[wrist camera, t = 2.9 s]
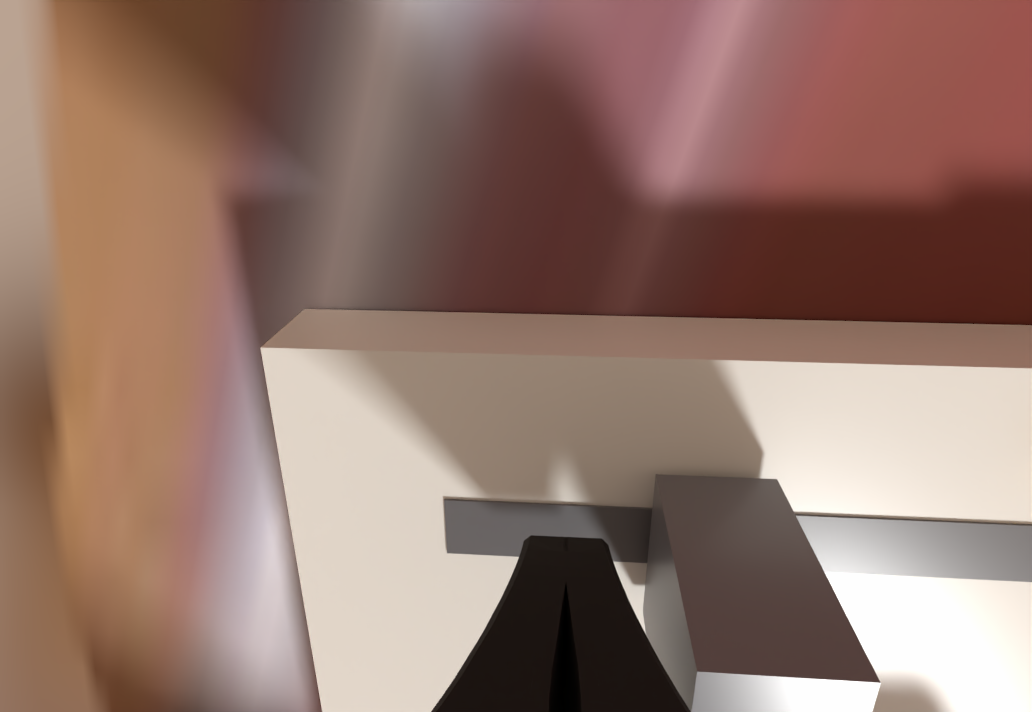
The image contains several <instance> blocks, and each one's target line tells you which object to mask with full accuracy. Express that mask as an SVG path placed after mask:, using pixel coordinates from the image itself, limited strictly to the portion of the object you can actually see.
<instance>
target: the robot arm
mask: <svg viewBox="0 0 1032 712" xmlns="http://www.w3.org/2000/svg"><path fill="white" fill-rule="evenodd" d="M431 712H691V711H690V710H689V708H688V707H687V705H686V703H685V702H684V700H683V699H682V697H681V696H680V694H679V692H678V691H677V689H676V687H675V686H674V684H673V682H672V680H671V679H670V677H669V675H668V674H667V672H666V670H665V669H664V667H663V665H662V664H661V662H660V660H659V658H658V656H657V655H656V653H655V651H654V649H653V647H652V645H651V643H650V642H649V640H648V638H647V636H646V634H645V632H644V630H643V628H642V626H641V624H640V622H639V620H638V618H637V616H636V614H635V612H634V610H633V608H632V606H631V604H630V602H629V599H628V597H627V595H626V592H625V590H624V588H623V586H622V583H621V581H620V578H619V576H618V573H617V571H616V568H615V565H614V562H613V559H612V556H611V553H610V549H609V545H608V544H607V543H606V542H605V541H604V540H603V539H602V538H581V537H558V536H535V535H531V536H529V537H528V538H527V539H525V540H524V542H523V546H522V550H521V553H520V556H519V558H518V561H517V564H516V566H515V569H514V571H513V574H512V576H511V578H510V580H509V582H508V585H507V587H506V589H505V591H504V593H503V595H502V597H501V599H500V601H499V603H498V605H497V607H496V609H495V610H494V612H493V614H492V616H491V618H490V620H489V622H488V624H487V626H486V627H485V629H484V631H483V633H482V634H481V636H480V638H479V640H478V641H477V643H476V644H475V646H474V648H473V649H472V651H471V652H470V654H469V656H468V657H467V659H466V661H465V662H464V664H463V665H462V667H461V669H460V670H459V672H458V673H457V675H456V677H455V678H454V680H453V681H452V683H451V684H450V685H449V687H448V688H447V690H446V691H445V693H444V694H443V696H442V697H441V698H440V700H439V701H438V703H437V704H436V706H435V707H434V708H433V710H432V711H431Z"/></svg>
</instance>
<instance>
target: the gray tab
mask: <svg viewBox="0 0 1032 712" xmlns="http://www.w3.org/2000/svg"><path fill="white" fill-rule="evenodd" d="M643 616H644V624H645V631H646V636H647V638H648V640H649V642H650V643H651V645H652V647H653V649H654V651H655V653H656V655H657V656H658V658H659V660H660V662H661V664H662V665H663V667H664V669H665V670H666V672H667V674H668V675H669V677H670V679H671V680H672V682H673V684H674V686H675V687H676V689H677V691H678V692H679V694H680V696H681V697H682V699H683V700H684V702H685V703H686V705H687V707H688V708H689V710H690V711H691V712H872V711H873V708H874V704H875V701H876V697H877V694H878V691H879V687H880V684H881V682H880V680H879V678H878V676H877V674H876V672H875V670H874V668H873V666H872V664H871V663H870V661H869V659H868V657H867V655H866V653H865V651H864V649H863V647H862V645H861V643H860V641H859V639H858V637H857V635H856V633H855V631H854V629H853V627H852V625H851V623H850V621H849V619H848V617H847V615H846V613H845V611H844V609H843V608H842V606H841V604H840V602H839V600H838V598H837V596H836V594H835V592H834V590H833V588H832V586H831V584H830V582H829V580H828V578H827V576H826V574H825V572H824V570H823V568H822V566H821V564H820V562H819V560H818V558H817V556H816V554H815V553H814V551H813V549H812V547H811V545H810V543H809V541H808V539H807V537H806V535H805V533H804V531H803V529H802V527H801V525H800V523H799V521H798V519H797V517H796V515H795V513H794V511H793V509H792V507H791V505H790V503H789V501H788V499H787V498H786V496H785V494H784V492H783V490H782V488H781V486H780V484H779V482H778V480H777V479H763V478H738V477H713V476H688V475H662V474H656V475H655V486H654V497H653V507H652V518H651V528H650V539H649V549H648V560H647V571H646V581H645V592H644V602H643Z"/></svg>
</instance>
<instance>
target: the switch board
mask: <svg viewBox="0 0 1032 712" xmlns="http://www.w3.org/2000/svg"><path fill="white" fill-rule="evenodd" d="M261 354H262V360H263V366H264V372H265V377H266V383H267V389H268V395H269V401H270V407H271V413H272V419H273V425H274V431H275V436H276V442H277V448H278V454H279V460H280V466H281V472H282V478H283V484H284V489H285V495H286V501H287V507H288V513H289V519H290V525H291V531H292V537H293V543H294V548H295V554H296V560H297V566H298V572H299V578H300V584H301V590H302V596H303V601H304V607H305V613H306V619H307V625H308V631H309V637H310V643H311V649H312V655H313V660H314V666H315V672H316V678H317V684H318V690H319V696H320V702H321V708H322V712H431V711H432V710H433V708H434V707H435V706H436V704H437V703H438V701H439V700H440V698H441V697H442V696H443V694H444V693H445V691H446V690H447V688H448V687H449V685H450V684H451V683H452V681H453V680H454V678H455V677H456V675H457V673H458V672H459V670H460V669H461V667H462V665H463V664H464V662H465V661H466V659H467V657H468V656H469V654H470V652H471V651H472V649H473V648H474V646H475V644H476V643H477V641H478V640H479V638H480V636H481V634H482V633H483V631H484V629H485V627H486V626H487V624H488V622H489V620H490V618H491V616H492V614H493V612H494V610H495V609H496V607H497V605H498V603H499V601H500V599H501V597H502V595H503V593H504V591H505V589H506V587H507V585H508V582H509V580H510V578H511V576H512V574H513V571H514V569H515V566H516V564H517V561H518V558H519V556H520V553H521V550H522V546H523V542H524V540H525V539H527V538H528V537H529V536H531V535H535V536H558V537H581V538H602V539H603V540H604V541H605V542H606V543H607V544H608V545H609V549H610V553H611V556H612V559H613V562H614V565H615V568H616V571H617V573H618V576H619V578H620V581H621V583H622V586H623V588H624V590H625V592H626V595H627V597H628V599H629V602H630V604H631V606H632V608H633V610H634V612H635V614H636V616H637V618H638V620H639V622H640V624H641V626H642V628H643V630H644V632H645V634H646V631H645V624H644V616H643V602H644V592H645V581H646V571H647V560H648V549H649V539H650V528H651V518H652V507H653V497H654V486H655V475H656V474H662V475H688V476H713V477H738V478H763V479H777V480H778V482H779V484H780V486H781V488H782V490H783V492H784V494H785V496H786V498H787V499H788V501H789V503H790V505H791V507H792V509H793V511H794V513H795V515H796V517H797V519H798V521H799V523H800V525H801V527H802V529H803V531H804V533H805V535H806V537H807V539H808V541H809V543H810V545H811V547H812V549H813V551H814V553H815V554H816V556H817V558H818V560H819V562H820V564H821V566H822V568H823V570H824V572H825V574H826V576H827V578H828V580H829V582H830V584H831V586H832V588H833V590H834V592H835V594H836V596H837V598H838V600H839V602H840V604H841V606H842V608H843V609H844V611H845V613H846V615H847V617H848V619H849V621H850V623H851V625H852V627H853V629H854V631H855V633H856V635H857V637H858V639H859V641H860V643H861V645H862V647H863V649H864V651H865V653H866V655H867V657H868V659H869V661H870V663H871V664H872V666H873V668H874V670H875V672H876V674H877V676H878V678H879V680H880V682H881V684H880V687H879V691H878V694H877V697H876V701H875V704H874V708H873V711H872V712H1032V325H1001V324H957V323H913V322H868V321H824V320H779V319H735V318H691V317H646V316H602V315H558V314H513V313H469V312H424V311H380V310H336V309H304V310H303V311H302V312H300V313H299V314H298V315H297V316H296V317H295V318H294V319H292V320H291V321H290V322H289V323H288V324H287V325H286V326H284V327H283V328H282V329H281V330H280V331H279V332H278V333H276V334H275V335H274V336H273V337H272V338H271V339H270V340H268V341H267V342H266V343H265V344H264V345H263V346H262V347H261Z"/></svg>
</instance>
